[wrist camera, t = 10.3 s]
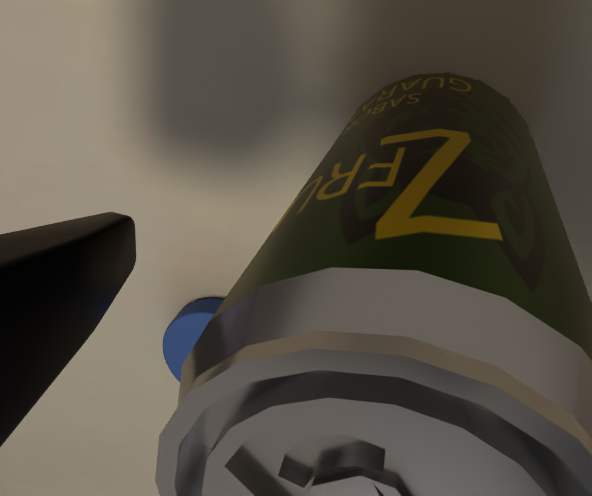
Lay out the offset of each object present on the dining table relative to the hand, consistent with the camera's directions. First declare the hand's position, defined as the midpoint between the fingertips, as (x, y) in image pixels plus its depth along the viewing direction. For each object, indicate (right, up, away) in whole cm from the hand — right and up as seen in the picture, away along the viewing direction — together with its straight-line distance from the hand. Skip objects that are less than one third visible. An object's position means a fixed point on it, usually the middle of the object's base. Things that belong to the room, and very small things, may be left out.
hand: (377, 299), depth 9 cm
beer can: (+3, +3, +7) cm, 8 cm away
